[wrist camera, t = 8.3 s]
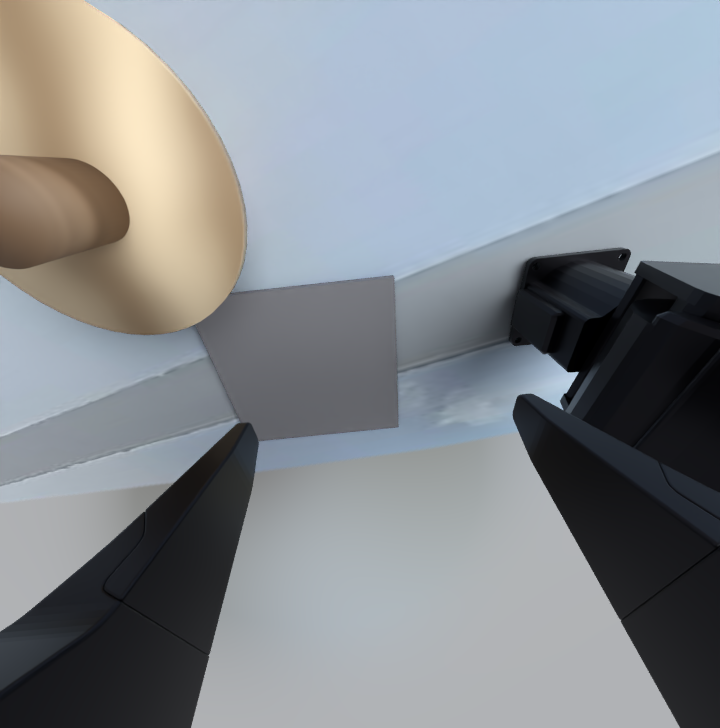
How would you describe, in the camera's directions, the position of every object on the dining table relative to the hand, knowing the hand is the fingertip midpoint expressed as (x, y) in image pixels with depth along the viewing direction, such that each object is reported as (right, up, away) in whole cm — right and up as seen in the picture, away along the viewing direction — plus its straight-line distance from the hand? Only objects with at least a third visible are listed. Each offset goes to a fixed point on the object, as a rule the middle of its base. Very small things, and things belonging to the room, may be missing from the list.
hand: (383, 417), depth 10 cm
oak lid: (-12, +9, +3) cm, 15 cm away
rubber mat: (-5, +1, +13) cm, 14 cm away
